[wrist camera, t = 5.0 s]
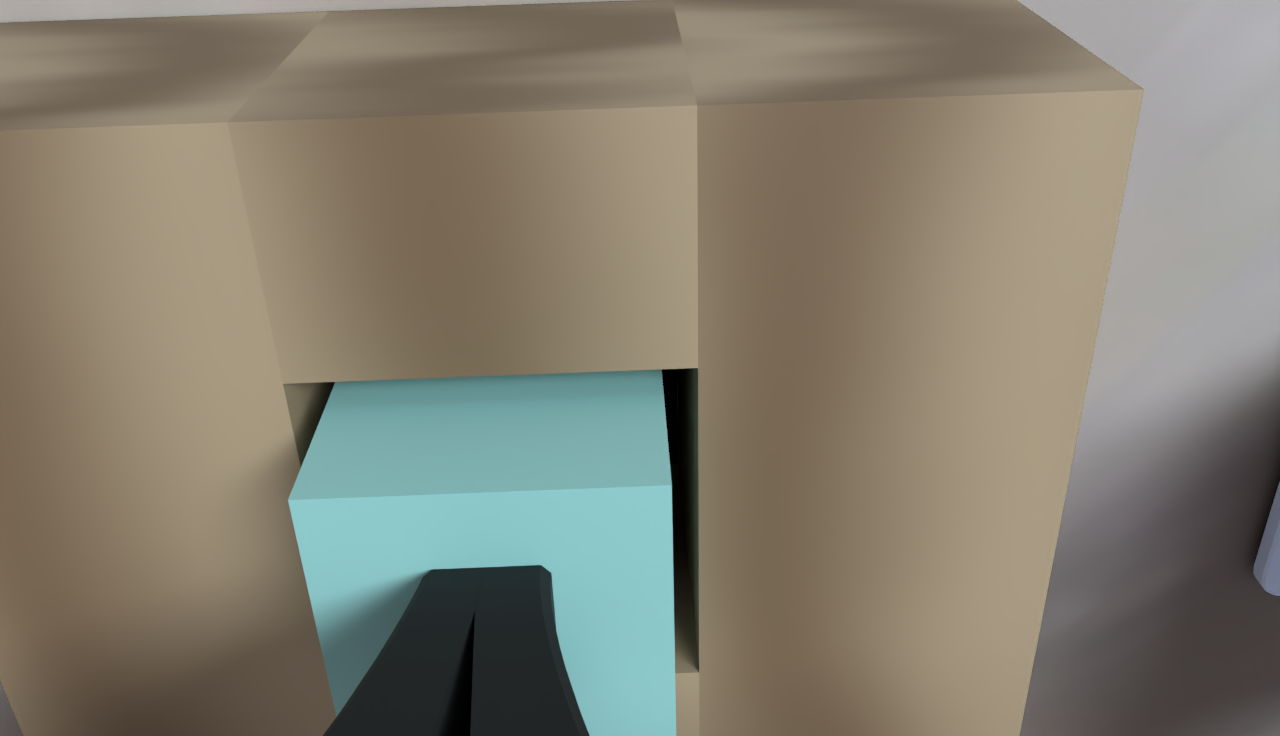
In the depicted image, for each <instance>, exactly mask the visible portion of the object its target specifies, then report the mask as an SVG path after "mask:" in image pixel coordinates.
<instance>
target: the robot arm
mask: <svg viewBox="0 0 1280 736" xmlns="http://www.w3.org/2000/svg"><path fill="white" fill-rule="evenodd" d="M1253 574H1254V575H1255V577H1256V579H1257V581H1258V582H1259V583H1260V585H1261V586H1262V587H1263V589H1264V590H1265V591H1266V592H1268V593H1270V594H1272V595H1276V596H1280V482H1279V485H1278V488H1277V492H1276V495H1275V498H1274V501H1273V505H1272V508H1271V511H1270V514H1269V518H1268V521H1267V524H1266V528H1265V531H1264V534H1263V537H1262V541H1261V544H1260V547H1259V551H1258V554H1257V557H1256V560H1255V564H1254V573H1253ZM323 736H590V735H589V733H588V730H587V728H586V725H585V722H584V720H583V717H582V714H581V712H580V709H579V706H578V703H577V700H576V697H575V694H574V691H573V688H572V685H571V682H570V679H569V676H568V673H567V670H566V667H565V664H564V660H563V656H562V653H561V649H560V645H559V641H558V636H557V632H556V621H555V609H554V597H553V586H552V574H551V572H549V571H548V570H547V569H546V568H544V567H543V566H542V565H527V566H504V567H479V568H454V569H432V570H430V571H429V572H428V573H427V574H426V575H425V576H424V577H423V578H422V580H421V582H420V584H419V586H418V588H417V590H416V592H415V593H414V595H413V597H412V599H411V601H410V602H409V604H408V606H407V608H406V610H405V611H404V613H403V615H402V617H401V618H400V620H399V622H398V623H397V625H396V627H395V629H394V630H393V632H392V634H391V635H390V637H389V638H388V640H387V642H386V643H385V645H384V646H383V648H382V650H381V651H380V653H379V655H378V656H377V658H376V659H375V661H374V662H373V664H372V665H371V667H370V668H369V670H368V671H367V673H366V674H365V676H364V677H363V679H362V680H361V682H360V683H359V685H358V686H357V688H356V689H355V691H354V692H353V694H352V695H351V697H350V698H349V700H348V701H347V703H346V704H345V706H344V707H343V709H342V710H341V711H340V713H339V714H338V716H337V717H336V718H335V720H334V721H333V722H332V724H331V725H330V726H329V728H328V729H327V730H326V732H325V733H324V734H323Z"/></svg>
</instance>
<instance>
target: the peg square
mask: <svg viewBox="0 0 1280 736" xmlns="http://www.w3.org/2000/svg"><path fill="white" fill-rule="evenodd" d="M288 503H289V507H290V512H291V516H292V521H293V525H294V530H295V534H296V539H297V543H298V548H299V552H300V556H301V561H302V565H303V570H304V574H305V579H306V583H307V588H308V592H309V597H310V601H311V606H312V610H313V615H314V619H315V624H316V628H317V633H318V637H319V641H320V646H321V650H322V655H323V659H324V664H325V668H326V673H327V677H328V682H329V686H330V691H331V695H332V700H333V704H334V709H335V713H336V717H337V716H338V714H339V713H340V711H341V710H342V709H343V707H344V706H345V704H346V703H347V701H348V700H349V698H350V697H351V695H352V694H353V692H354V691H355V689H356V688H357V686H358V685H359V683H360V682H361V680H362V679H363V677H364V676H365V674H366V673H367V671H368V670H369V668H370V667H371V665H372V664H373V662H374V661H375V659H376V658H377V656H378V655H379V653H380V651H381V650H382V648H383V646H384V645H385V643H386V642H387V640H388V638H389V637H390V635H391V634H392V632H393V630H394V629H395V627H396V625H397V623H398V622H399V620H400V618H401V617H402V615H403V613H404V611H405V610H406V608H407V606H408V604H409V602H410V601H411V599H412V597H413V595H414V593H415V592H416V590H417V588H418V586H419V584H420V582H421V580H422V578H423V577H424V576H425V575H426V574H427V573H428V572H429V571H430V570H432V569H454V568H479V567H504V566H527V565H542V566H543V567H544V568H546V569H547V570H548V571H549V572H551V574H552V586H553V597H554V609H555V621H556V632H557V636H558V641H559V645H560V649H561V653H562V656H563V660H564V664H565V667H566V670H567V673H568V676H569V679H570V682H571V685H572V688H573V691H574V694H575V697H576V700H577V703H578V706H579V709H580V712H581V714H582V717H583V720H584V722H585V725H586V728H587V730H588V733H589V735H590V736H676V692H675V635H674V579H673V523H672V481H671V470H670V459H669V447H668V436H667V424H666V413H665V402H664V390H663V379H662V369H658V370H632V371H606V372H579V373H553V374H527V375H501V376H475V377H448V378H422V379H396V380H370V381H344V382H335V384H334V387H333V389H332V392H331V394H330V397H329V399H328V402H327V404H326V406H325V409H324V411H323V414H322V416H321V419H320V421H319V424H318V426H317V429H316V431H315V434H314V436H313V439H312V441H311V444H310V446H309V449H308V451H307V454H306V456H305V459H304V461H303V464H302V466H301V469H300V471H299V474H298V476H297V479H296V481H295V484H294V486H293V489H292V491H291V494H290V496H289V499H288Z"/></svg>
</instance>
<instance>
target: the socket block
mask: <svg viewBox="0 0 1280 736" xmlns="http://www.w3.org/2000/svg"><path fill="white" fill-rule="evenodd" d="M1143 93H1144V89H1143V88H1141V87H1140V86H1139V85H1137V84H1136V83H1134V82H1133V81H1131V80H1130V79H1129V78H1127V77H1126V76H1124V75H1123V74H1121V73H1120V72H1119V71H1117V70H1116V69H1114V68H1113V67H1111V66H1110V65H1109V64H1107V63H1106V62H1104V61H1103V60H1101V59H1100V58H1099V57H1097V56H1096V55H1094V54H1093V53H1091V52H1090V51H1088V50H1087V49H1086V48H1084V47H1083V46H1081V45H1080V44H1078V43H1077V42H1076V41H1074V40H1073V39H1071V38H1070V37H1068V36H1067V35H1066V34H1064V33H1063V32H1061V31H1060V30H1058V29H1057V28H1056V27H1054V26H1053V25H1051V24H1050V23H1048V22H1047V21H1046V20H1044V19H1043V18H1041V17H1040V16H1038V15H1037V14H1036V13H1034V12H1033V11H1031V10H1030V9H1028V8H1027V7H1026V6H1024V5H1023V4H1021V3H1020V2H1018V1H1017V0H637V1H609V2H580V3H552V4H523V5H495V6H466V7H438V8H409V9H381V10H352V11H324V12H295V13H267V14H238V15H210V16H181V17H153V18H124V19H96V20H67V21H39V22H10V23H0V682H1V684H2V687H3V689H4V691H5V694H6V696H7V699H8V701H9V703H10V706H11V708H12V711H13V713H14V715H15V718H16V720H17V722H18V725H19V727H20V730H21V732H22V734H23V736H323V734H324V733H325V732H326V730H327V729H328V728H329V726H330V725H331V724H332V722H333V721H334V720H335V718H336V713H335V709H334V704H333V700H332V695H331V691H330V686H329V682H328V677H327V673H326V668H325V664H324V659H323V655H322V650H321V646H320V641H319V637H318V633H317V628H316V624H315V619H314V615H313V610H312V606H311V601H310V597H309V592H308V588H307V583H306V579H305V574H304V570H303V565H302V561H301V556H300V552H299V548H298V543H297V539H296V534H295V530H294V525H293V521H292V516H291V512H290V507H289V503H288V499H289V496H290V494H291V491H292V489H293V486H294V484H295V481H296V479H297V476H298V474H299V471H300V469H301V466H302V464H303V461H304V459H305V456H306V454H307V451H308V449H309V446H310V444H311V441H312V439H313V436H314V434H315V431H316V429H317V426H318V424H319V421H320V419H321V416H322V414H323V411H324V409H325V406H326V404H327V402H328V399H329V397H330V394H331V392H332V389H333V387H334V384H335V382H344V381H370V380H396V379H422V378H448V377H475V376H501V375H527V374H553V373H579V372H606V371H632V370H658V369H677V389H678V460H679V464H671V465H670V470H671V481H672V523H673V579H674V635H675V692H676V736H1020V731H1021V726H1022V721H1023V715H1024V710H1025V705H1026V700H1027V695H1028V689H1029V684H1030V679H1031V674H1032V669H1033V663H1034V658H1035V653H1036V648H1037V643H1038V638H1039V632H1040V627H1041V622H1042V617H1043V612H1044V606H1045V601H1046V596H1047V591H1048V586H1049V580H1050V575H1051V570H1052V565H1053V560H1054V555H1055V549H1056V544H1057V539H1058V534H1059V529H1060V523H1061V518H1062V513H1063V508H1064V503H1065V497H1066V492H1067V487H1068V482H1069V477H1070V472H1071V466H1072V461H1073V456H1074V451H1075V446H1076V440H1077V435H1078V430H1079V425H1080V420H1081V414H1082V409H1083V404H1084V399H1085V394H1086V388H1087V383H1088V378H1089V373H1090V368H1091V363H1092V357H1093V352H1094V347H1095V342H1096V337H1097V331H1098V326H1099V321H1100V316H1101V311H1102V305H1103V300H1104V295H1105V290H1106V285H1107V280H1108V274H1109V269H1110V264H1111V259H1112V254H1113V248H1114V243H1115V238H1116V233H1117V228H1118V222H1119V217H1120V212H1121V207H1122V202H1123V196H1124V191H1125V186H1126V181H1127V176H1128V171H1129V165H1130V160H1131V155H1132V150H1133V145H1134V139H1135V134H1136V129H1137V124H1138V119H1139V113H1140V108H1141V103H1142V98H1143Z"/></svg>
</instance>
